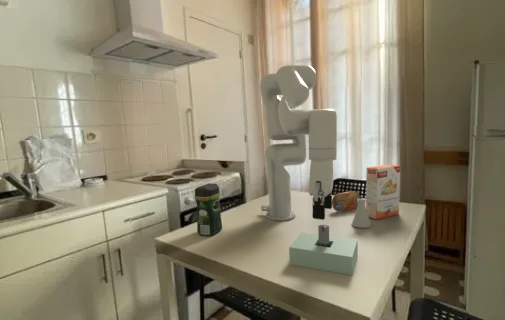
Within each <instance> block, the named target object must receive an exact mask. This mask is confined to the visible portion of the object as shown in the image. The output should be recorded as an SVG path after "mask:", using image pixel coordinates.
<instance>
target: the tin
mask: <svg viewBox="0 0 505 320" xmlns="http://www.w3.org/2000/svg"><path fill="white" fill-rule="evenodd" d="M357 199H362V196H361V194H360V193H359V192H358V191H353V190H351V191H350V190H349V191H345V192H339V193H336V194H335V195H334V196H332V208H333V210H334V211H335V212H338V213H341V214H342V213H347V212H352V211H355V210H356V211H357V206H358V202H357Z"/></svg>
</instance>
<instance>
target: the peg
mask: <svg viewBox="0 0 505 320" xmlns="http://www.w3.org/2000/svg"><path fill="white" fill-rule="evenodd" d="M317 228H318V232H317V233H318V236H319V246H323V247H329V236H330V226H329V225H327V224H319V225H318V227H317Z"/></svg>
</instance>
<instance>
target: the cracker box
mask: <svg viewBox="0 0 505 320" xmlns="http://www.w3.org/2000/svg"><path fill="white" fill-rule="evenodd" d="M365 177H366V181H365V183H366V184H365V185H366V186H365V200H366V202H365V208H366V212H367V215H368V217H369V219H370V218H371V219H374V220H375V221H377V220H381V219H384V218H388V217H391V216H396V215H399V213H400V193H401V192H400V188H401V187H400V185H401V184H400V183H401V165H398V164H384V165H375V166H369V167H366V175H365Z"/></svg>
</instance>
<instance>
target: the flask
mask: <svg viewBox="0 0 505 320" xmlns="http://www.w3.org/2000/svg"><path fill="white" fill-rule="evenodd" d="M357 202H358V206H357V209H356V212H355V214H354V217H353V219H352V222H351V226H353V227H354V228H358V229H366V228H367V229H370V228H371V227H372V223H371V220H370V217H368V215H367V212H366V199H364V198H361V199H357Z"/></svg>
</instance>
